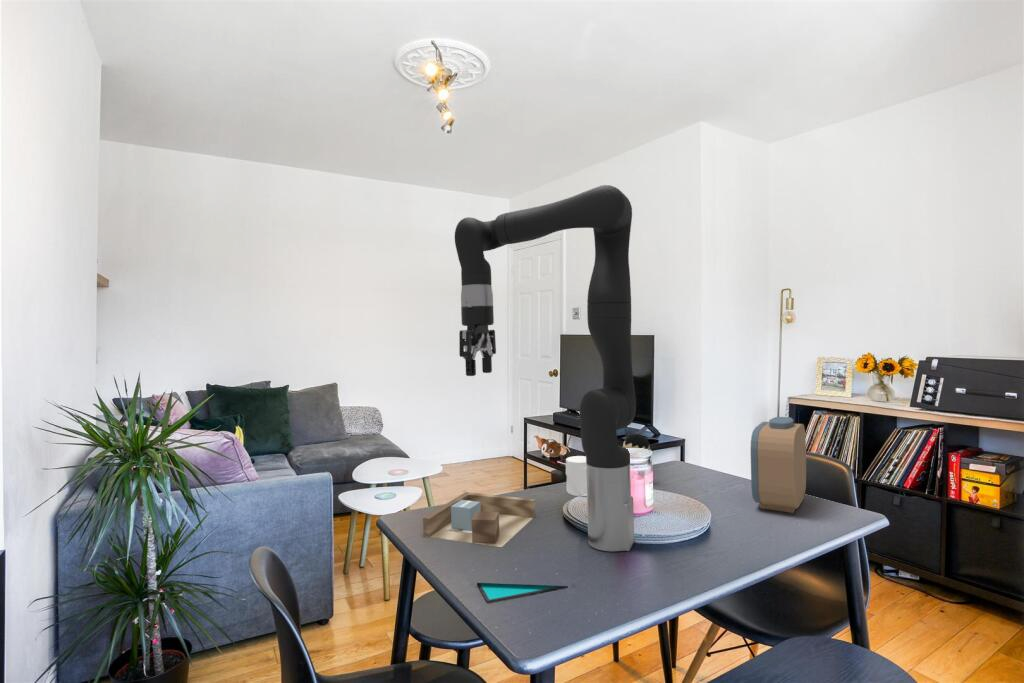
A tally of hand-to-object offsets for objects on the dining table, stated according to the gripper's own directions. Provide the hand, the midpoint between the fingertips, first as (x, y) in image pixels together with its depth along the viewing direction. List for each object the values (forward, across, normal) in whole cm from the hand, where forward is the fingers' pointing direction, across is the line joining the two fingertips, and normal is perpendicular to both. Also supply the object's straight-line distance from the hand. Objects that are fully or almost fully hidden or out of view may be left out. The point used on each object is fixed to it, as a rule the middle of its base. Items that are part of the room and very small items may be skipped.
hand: (479, 374), depth 124 cm
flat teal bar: (+37, +24, +19) cm, 48 cm away
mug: (+36, -33, +15) cm, 51 cm away
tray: (+36, +2, 0) cm, 36 cm away
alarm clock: (+36, -39, +65) cm, 84 cm away
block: (+35, +4, -2) cm, 35 cm away
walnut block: (+35, +9, +5) cm, 36 cm away
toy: (+36, -45, +28) cm, 64 cm away
